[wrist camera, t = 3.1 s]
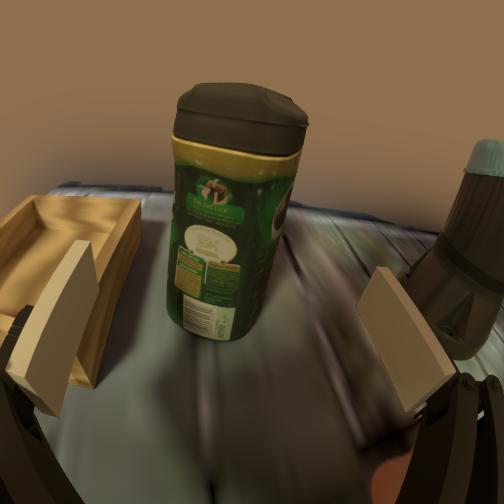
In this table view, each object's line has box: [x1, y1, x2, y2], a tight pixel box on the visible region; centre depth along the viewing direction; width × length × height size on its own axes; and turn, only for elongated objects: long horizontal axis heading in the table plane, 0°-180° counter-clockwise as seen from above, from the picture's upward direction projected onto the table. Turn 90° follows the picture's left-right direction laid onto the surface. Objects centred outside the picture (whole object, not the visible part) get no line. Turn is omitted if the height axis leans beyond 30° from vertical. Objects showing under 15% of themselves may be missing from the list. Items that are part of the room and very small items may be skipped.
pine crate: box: [0, 195, 142, 389], centre depth 20 cm, size 16×20×5 cm
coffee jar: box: [167, 83, 309, 342], centre depth 20 cm, size 10×8×19 cm
